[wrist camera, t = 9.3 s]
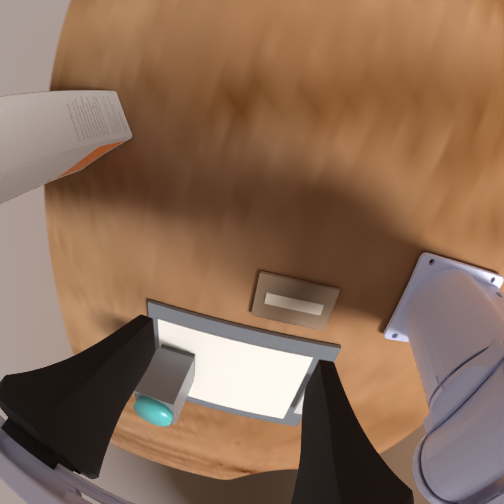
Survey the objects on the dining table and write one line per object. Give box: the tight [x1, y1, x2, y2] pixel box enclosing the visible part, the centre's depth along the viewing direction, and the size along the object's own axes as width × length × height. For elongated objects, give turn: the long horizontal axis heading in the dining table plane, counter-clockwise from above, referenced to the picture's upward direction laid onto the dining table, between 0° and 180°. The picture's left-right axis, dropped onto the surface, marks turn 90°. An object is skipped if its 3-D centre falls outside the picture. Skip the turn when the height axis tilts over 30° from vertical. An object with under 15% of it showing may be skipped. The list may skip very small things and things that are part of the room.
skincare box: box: [0, 90, 132, 204], centre depth 13 cm, size 6×4×12 cm
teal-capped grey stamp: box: [134, 344, 195, 426], centre depth 23 cm, size 4×4×7 cm
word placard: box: [251, 271, 340, 331], centre depth 21 cm, size 6×4×1 cm, turn 80°
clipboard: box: [148, 300, 341, 426], centre depth 26 cm, size 17×14×1 cm
